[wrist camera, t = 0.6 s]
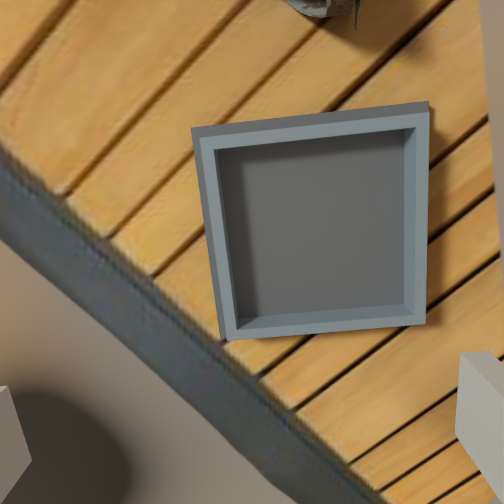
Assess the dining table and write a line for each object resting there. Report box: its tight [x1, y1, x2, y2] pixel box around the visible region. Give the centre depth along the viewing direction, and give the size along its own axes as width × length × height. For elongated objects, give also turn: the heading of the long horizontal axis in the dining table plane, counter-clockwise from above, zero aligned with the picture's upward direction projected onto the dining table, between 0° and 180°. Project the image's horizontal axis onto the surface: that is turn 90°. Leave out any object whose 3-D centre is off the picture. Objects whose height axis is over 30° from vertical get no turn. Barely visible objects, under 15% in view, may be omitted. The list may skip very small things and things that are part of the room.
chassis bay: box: [191, 101, 430, 341], centre depth 33 cm, size 20×20×4 cm
